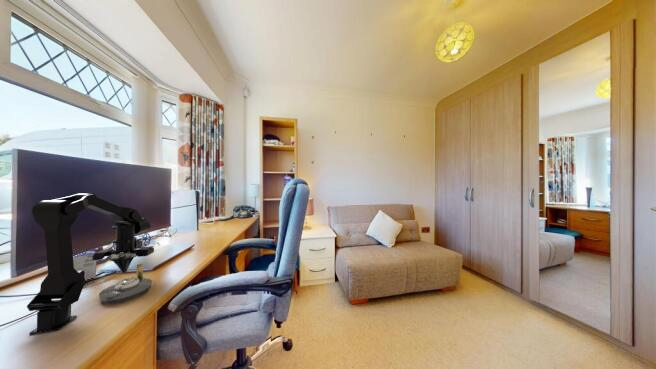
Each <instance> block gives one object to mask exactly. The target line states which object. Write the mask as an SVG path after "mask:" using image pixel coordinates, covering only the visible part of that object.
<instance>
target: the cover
mask: <svg viewBox="0 0 656 369" xmlns="http://www.w3.org/2000/svg"><path fill="white" fill-rule="evenodd" d="M114 285H115V291H116V292H122V291H127V290H130V289H133V288H135V287H137V286H138V285H139V279H138V278H137V277H128V278H124V279H121V280H120V281H117V283H115V284H114Z"/></svg>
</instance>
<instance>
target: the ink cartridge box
mask: <svg viewBox="0 0 656 369" xmlns="http://www.w3.org/2000/svg"><path fill="white" fill-rule="evenodd" d="M94 253H96V251H95V250H92V251H86V252H85V253H82V254H79V255H77V256H74V257H73V263H74V269H75V270H77V271H84V272H85V276H84V278H85V280H86V279H89V278H93V277H96V278H97V260H92V256H93V255H94ZM86 281H87V280H86Z"/></svg>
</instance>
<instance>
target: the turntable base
mask: <svg viewBox="0 0 656 369" xmlns="http://www.w3.org/2000/svg"><path fill="white" fill-rule="evenodd" d="M149 290H150V288H149V289H148V290H147V291H145V292H143V293H141V294H139V295H136V296H133V297H130V298H127V299H123V300H118V301H112V302H103V301H102V302H103V303H104V304H107V305H114V304H120V303H124V302H128V301H132V300H135V299H136V298H139V297H141V296H143V295H145V294H146V293H148V291H149Z"/></svg>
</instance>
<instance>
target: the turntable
mask: <svg viewBox="0 0 656 369" xmlns="http://www.w3.org/2000/svg"><path fill="white" fill-rule="evenodd" d="M136 278H138V279H139V285H138V286H137V287H135V288H133V289H130V290H127V291H122V292H116V291H115V284H113V285H110V286H108V287H107V288H104V289H102V290H101V291H100V292H99V293H98V300H99V301H100V302H112V301H118V300H123V299H127V298H130V297H133V296H136V295H139V294H141V293H143V292H145V291H147V290H148V289H149V290H150V289H151V288H152V285H153V280H152V279H151V278H146V277H145V278H144V263H139V264H136ZM149 290H148V291H149ZM148 291H147V292H148Z"/></svg>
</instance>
